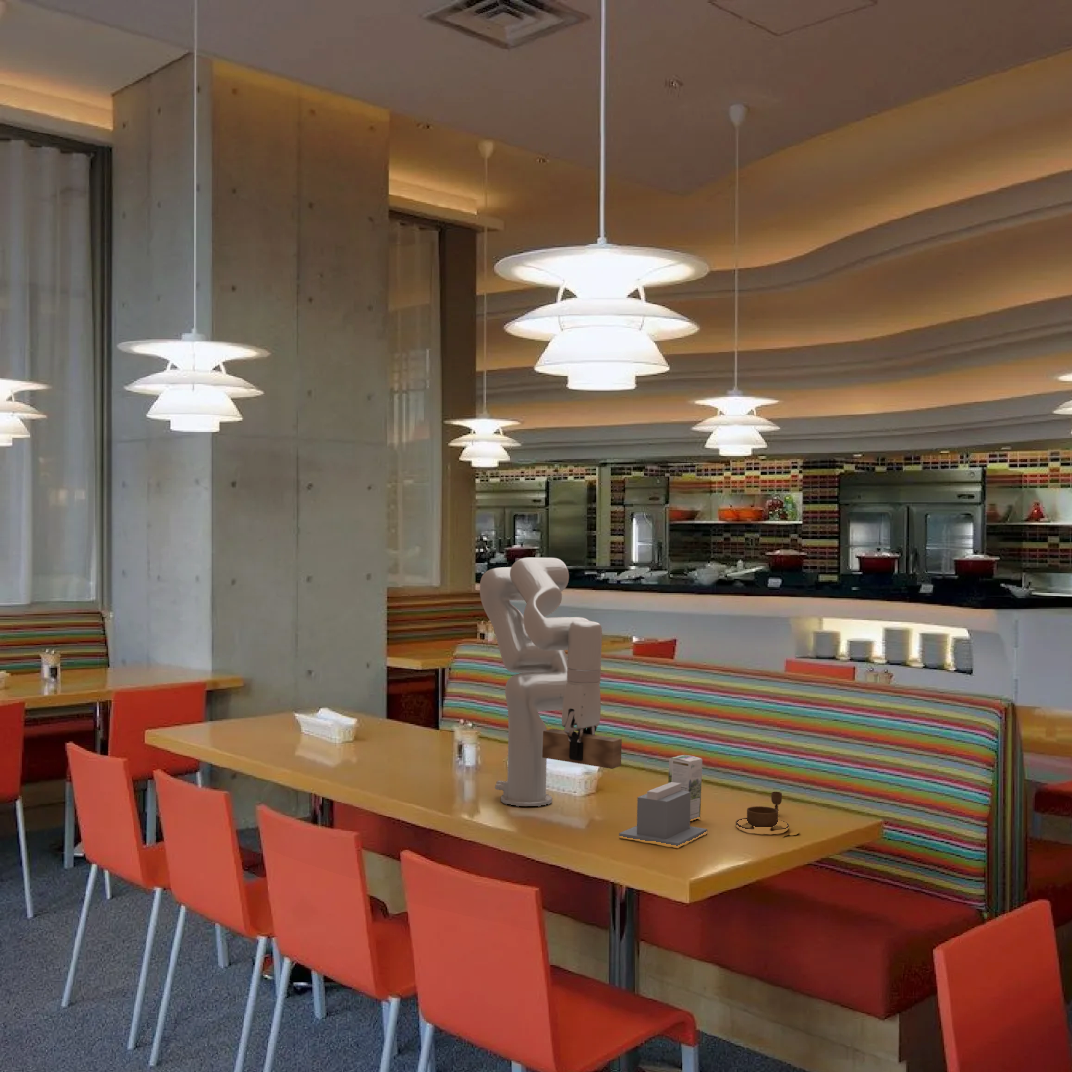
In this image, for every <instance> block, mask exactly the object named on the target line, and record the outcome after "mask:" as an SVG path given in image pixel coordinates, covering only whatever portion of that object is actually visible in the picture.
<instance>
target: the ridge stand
mask: <svg viewBox="0 0 1072 1072" xmlns="http://www.w3.org/2000/svg"><path fill="white" fill-rule="evenodd" d="M690 795H691V792H688V791H681V783H675V782H670V783H668V782H667V783H665V784H663V785H660V786H657V787H655V788H652V789H650V790H647V791H646V793H644V794H643V795H640V796H637V800H636V801H637V803H636V805H637V806H636V812H637V813H636V814H637V815H636V825H635V826H633V827H631V828H628V829H626V830H623V831H621V832H619V834H618V837H619V836H623V837H627V838H633V839H640V840H645V841H656V842H661V843H666V844H671V845H676V846H678V845H680V844H682V843H685V842H686V841H690V840H692V839H693V838H696V837H698V836H699V835H701V834H703V833H704V832H706V831H707V832H708V828H703V827H697V826H691V822H690Z"/></svg>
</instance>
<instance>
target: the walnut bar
mask: <svg viewBox="0 0 1072 1072" xmlns="http://www.w3.org/2000/svg"><path fill="white" fill-rule="evenodd" d="M575 732H576V733H577V735H578V731H575ZM568 739H569V737H568V735H567V734H566V733H565V732H564V730H563V729H557V728H556V729H555V728H549V729H547V730H546V731H543V750H542V758H547V760H548V759H549V760H554V761H562V762H568V763H573V764H578V765H579V764H580V765H586V766H593V767H598V768H605V769H610V770H611V769H612V770H614V769H616V768H618V767H619V768H620V767H621V766H622V743H623V739H622V738H618V737H611V736H605V735H597V734H595V735H592V734H585V733H583V734H582V741H581V742H582V743H583V760H582V761H578V760H572V759H570V758H569V748H570V742H569V740H568Z"/></svg>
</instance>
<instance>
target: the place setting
mask: <svg viewBox="0 0 1072 1072" xmlns="http://www.w3.org/2000/svg"><path fill="white" fill-rule="evenodd" d="M770 795H771V803H772V805H774V807H770V806H760V805H759V806H750V807H748V808H747V809H746V817H743V818H739V819H736V821H735V826H736V825H738V826H739V827H742V828H745V829H753V828H751V827H746V826H744V825H742V826H741V825H739V824H738V823H737V822H738V821H739V820H742V819H747V821H748V823H749V824H748V825H750V826H751V825H752V827H753V826H755V827H772V828H773V826H774V827H776V826H775V825H776V824H777V822H778V820H779V816H778V815H779V812H778V811H779V805H780V804H781V803H782V800H783V799H782V797H783V792H780V791H771V794H770ZM782 821H783V822H785V821H784V820H782ZM786 823H787V825H788V826H787V827H786V828H788V827H789V828H790V824H789V823H788V822H786ZM786 828H782V829H786Z"/></svg>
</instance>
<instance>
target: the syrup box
mask: <svg viewBox="0 0 1072 1072" xmlns="http://www.w3.org/2000/svg"><path fill="white" fill-rule="evenodd" d="M702 773H703V758H701V757H697V756H694V755H687V754H682V755H677V756H673V757H669V758H668V782H667V783H670V782H675V783H681V791H688V792H691V795H690V820H691V819H694V818H697V817H700V818H701V807H702V806H701V804H702V777H703V774H702Z"/></svg>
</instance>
